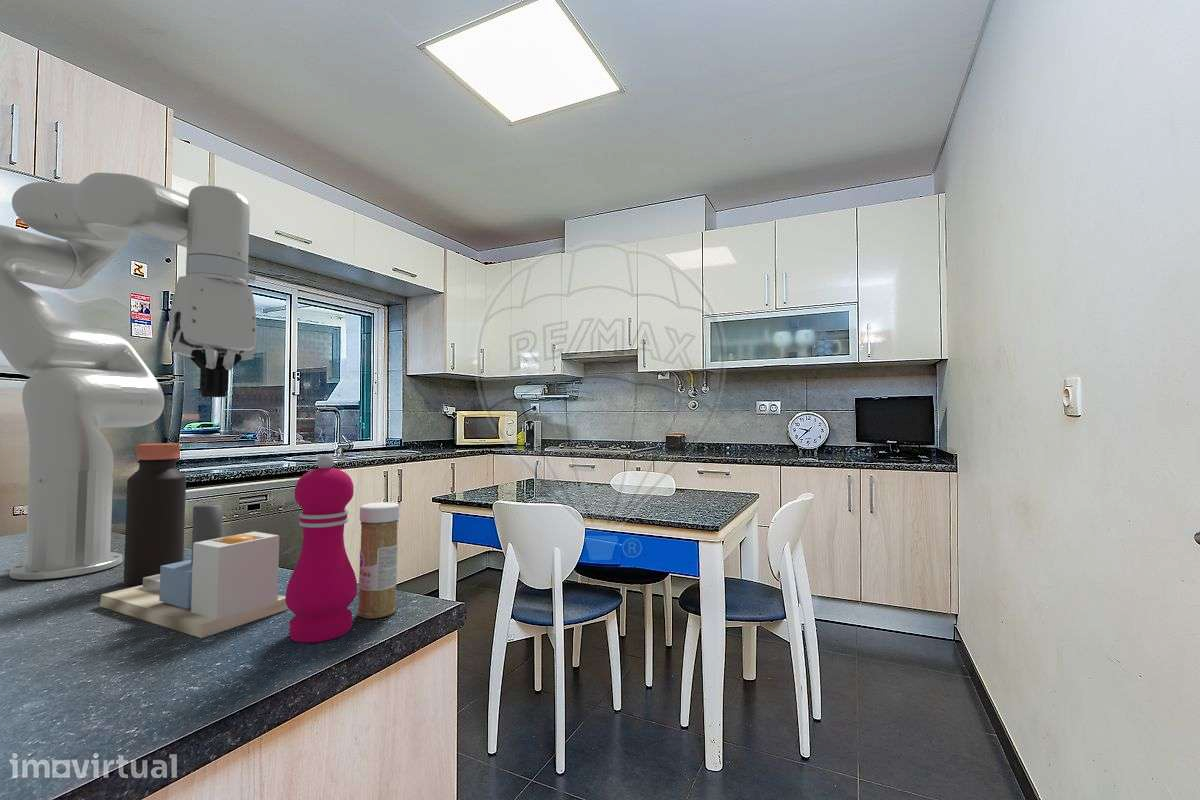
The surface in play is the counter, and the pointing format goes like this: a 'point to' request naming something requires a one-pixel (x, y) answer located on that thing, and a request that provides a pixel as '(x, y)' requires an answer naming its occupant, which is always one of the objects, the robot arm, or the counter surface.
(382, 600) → the sprinkles bottle
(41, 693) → the counter surface
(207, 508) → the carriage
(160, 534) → the vinegar
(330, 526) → the pepper mill
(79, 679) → the counter surface
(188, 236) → the robot arm
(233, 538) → the plunger
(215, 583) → the white box holder
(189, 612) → the rail base
